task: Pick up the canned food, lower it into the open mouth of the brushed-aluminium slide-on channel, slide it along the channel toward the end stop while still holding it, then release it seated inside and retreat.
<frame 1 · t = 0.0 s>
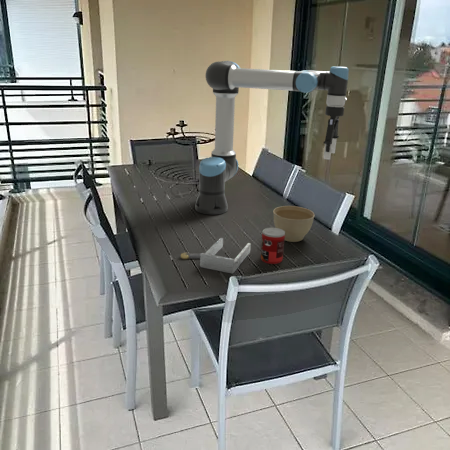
hand: (329, 156, 196), 28 cm above the table, fingers open, 13 cm apart
canned food: (271, 260, 163), on the table
channel: (226, 258, 162), on the table
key: (194, 257, 162), on the table
planter bowl: (291, 238, 182), on the table
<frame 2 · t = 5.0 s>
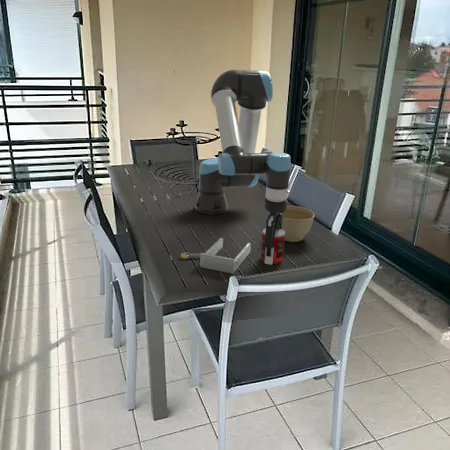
hand: (271, 258, 162), 0 cm above the table, fingers closed on canned food, 8 cm apart
canned food: (271, 260, 163), on the table, touching gripper
everything else where it was.
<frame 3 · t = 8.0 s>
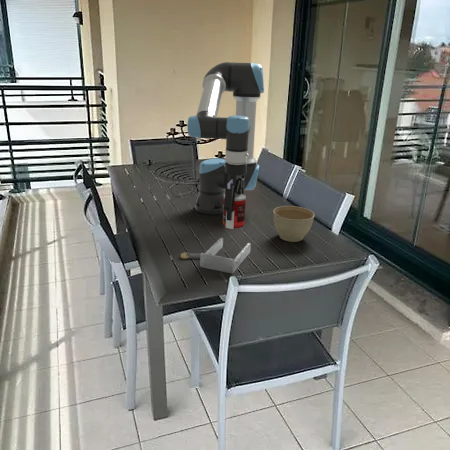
hand: (233, 224, 163), 11 cm above the table, fingers closed on canned food, 8 cm apart
canned food: (233, 225, 163), point 11 cm above the table, touching gripper
everything else where it was.
when the fingers open (1 cm above the table, at t = 11.3 s): canned food stays where it is, resting in channel.
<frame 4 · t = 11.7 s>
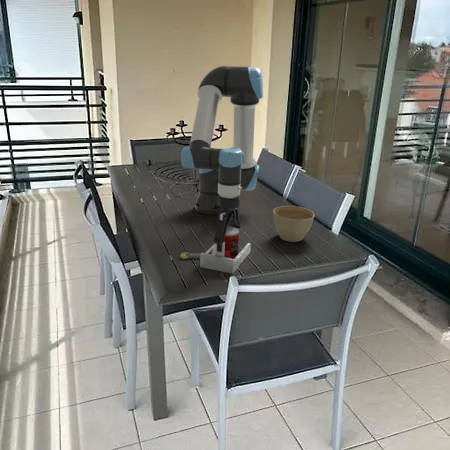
hand: (226, 251, 161), 3 cm above the table, fingers open, 13 cm apart
canned food: (226, 259, 162), resting in channel
everything else where it was.
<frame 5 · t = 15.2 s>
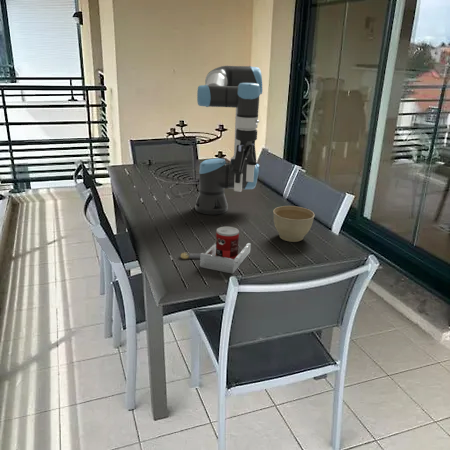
hand: (243, 186, 168), 23 cm above the table, fingers open, 13 cm apart
nothing on the table moved.
at the end: canned food inside the target area on the channel (0.8 cm from its centre), point 0.0 cm above the channel's base; canned food tilted 0°; the gripper is holding nothing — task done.
